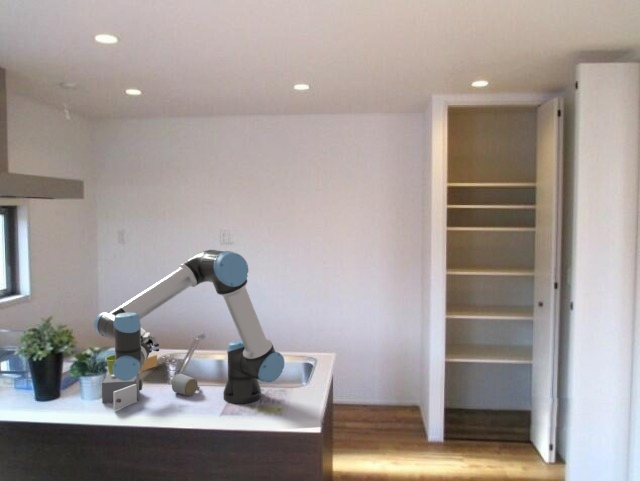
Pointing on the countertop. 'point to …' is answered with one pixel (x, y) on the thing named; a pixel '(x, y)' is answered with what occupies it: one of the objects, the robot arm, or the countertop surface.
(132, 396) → the side door
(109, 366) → the plant pot
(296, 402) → the countertop surface
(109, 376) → the box
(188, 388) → the ceramic mug
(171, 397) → the countertop surface
